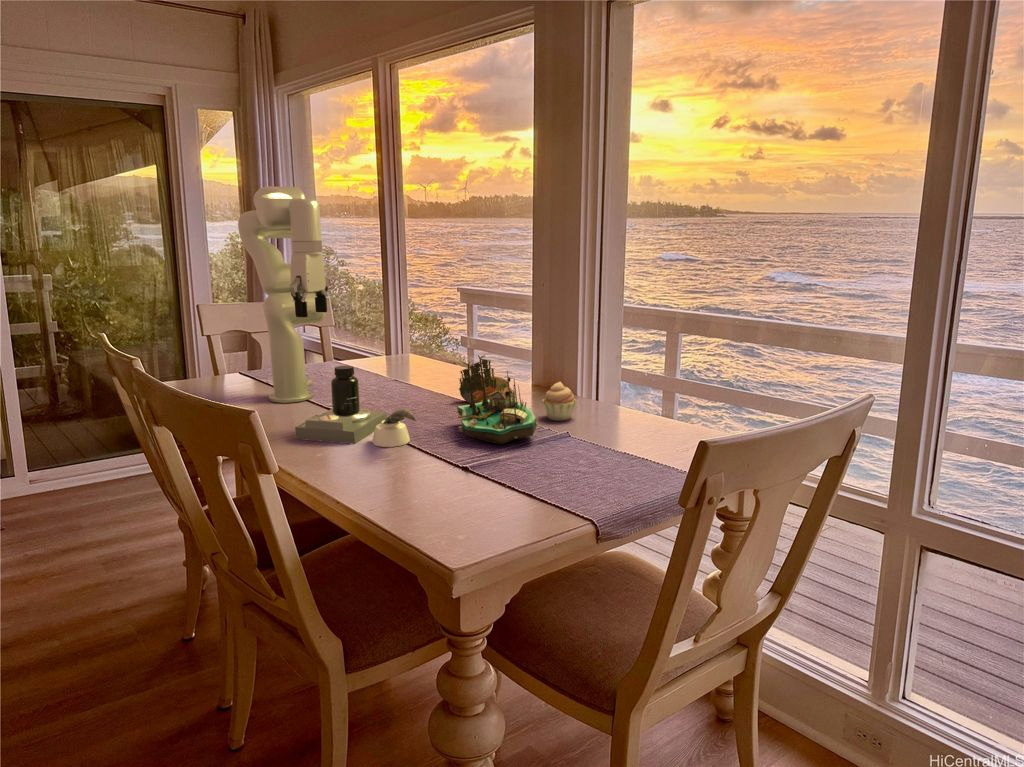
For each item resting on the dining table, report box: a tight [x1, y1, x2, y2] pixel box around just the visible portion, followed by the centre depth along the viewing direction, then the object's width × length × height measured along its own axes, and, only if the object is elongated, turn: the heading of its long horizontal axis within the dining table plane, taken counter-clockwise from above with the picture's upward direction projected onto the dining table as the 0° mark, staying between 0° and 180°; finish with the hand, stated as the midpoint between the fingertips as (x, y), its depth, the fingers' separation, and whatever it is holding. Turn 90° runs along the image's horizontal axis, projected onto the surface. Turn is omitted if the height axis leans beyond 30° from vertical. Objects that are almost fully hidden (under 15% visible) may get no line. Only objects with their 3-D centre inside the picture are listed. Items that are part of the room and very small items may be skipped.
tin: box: [459, 375, 508, 404], centre depth 208 cm, size 15×3×8 cm, turn 68°
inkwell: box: [371, 408, 417, 448], centre depth 170 cm, size 9×18×10 cm, turn 38°
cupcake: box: [541, 381, 578, 422], centre depth 192 cm, size 9×9×10 cm
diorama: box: [456, 354, 539, 445], centre depth 178 cm, size 19×25×19 cm
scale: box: [294, 408, 388, 445], centre depth 183 cm, size 18×16×6 cm
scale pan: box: [323, 406, 371, 423], centre depth 185 cm, size 12×12×1 cm
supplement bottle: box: [330, 365, 361, 416], centre depth 184 cm, size 7×7×12 cm
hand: (311, 314), depth 189 cm, fingers open, 9 cm apart
